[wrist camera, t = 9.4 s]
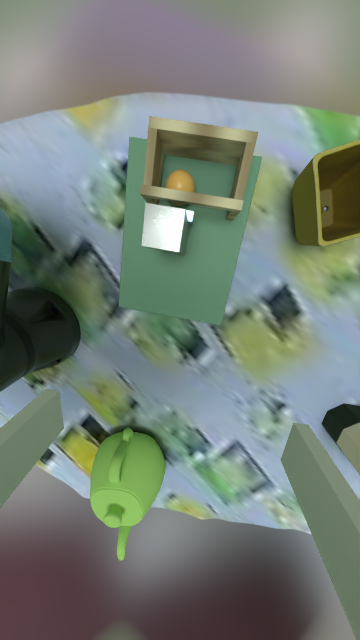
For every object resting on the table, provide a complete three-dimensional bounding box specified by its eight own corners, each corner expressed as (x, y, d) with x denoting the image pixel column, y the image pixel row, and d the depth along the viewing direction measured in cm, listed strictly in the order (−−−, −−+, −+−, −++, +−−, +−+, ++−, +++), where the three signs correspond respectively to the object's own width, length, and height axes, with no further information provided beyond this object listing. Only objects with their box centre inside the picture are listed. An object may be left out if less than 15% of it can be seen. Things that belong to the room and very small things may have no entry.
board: (120, 305, 34) (118, 306, 33) (131, 141, 27) (129, 136, 26) (220, 323, 33) (220, 325, 32) (259, 160, 26) (262, 156, 25)
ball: (165, 160, 23) (169, 176, 27) (160, 197, 24) (165, 207, 28) (197, 165, 23) (197, 180, 27) (191, 202, 24) (192, 211, 28)
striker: (156, 250, 29) (136, 244, 20) (160, 213, 28) (141, 187, 18) (188, 255, 29) (183, 252, 20) (194, 218, 28) (192, 196, 18)
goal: (152, 208, 28) (139, 193, 22) (158, 144, 26) (147, 109, 20) (231, 221, 28) (241, 210, 22) (245, 157, 26) (261, 125, 19)
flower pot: (276, 187, 27) (313, 153, 18) (344, 166, 25) (418, 118, 17) (283, 251, 29) (319, 247, 21) (346, 234, 28) (412, 223, 19)
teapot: (168, 488, 47) (158, 570, 35) (110, 482, 48) (80, 559, 36) (166, 417, 41) (152, 486, 28) (99, 413, 42) (58, 477, 29)
